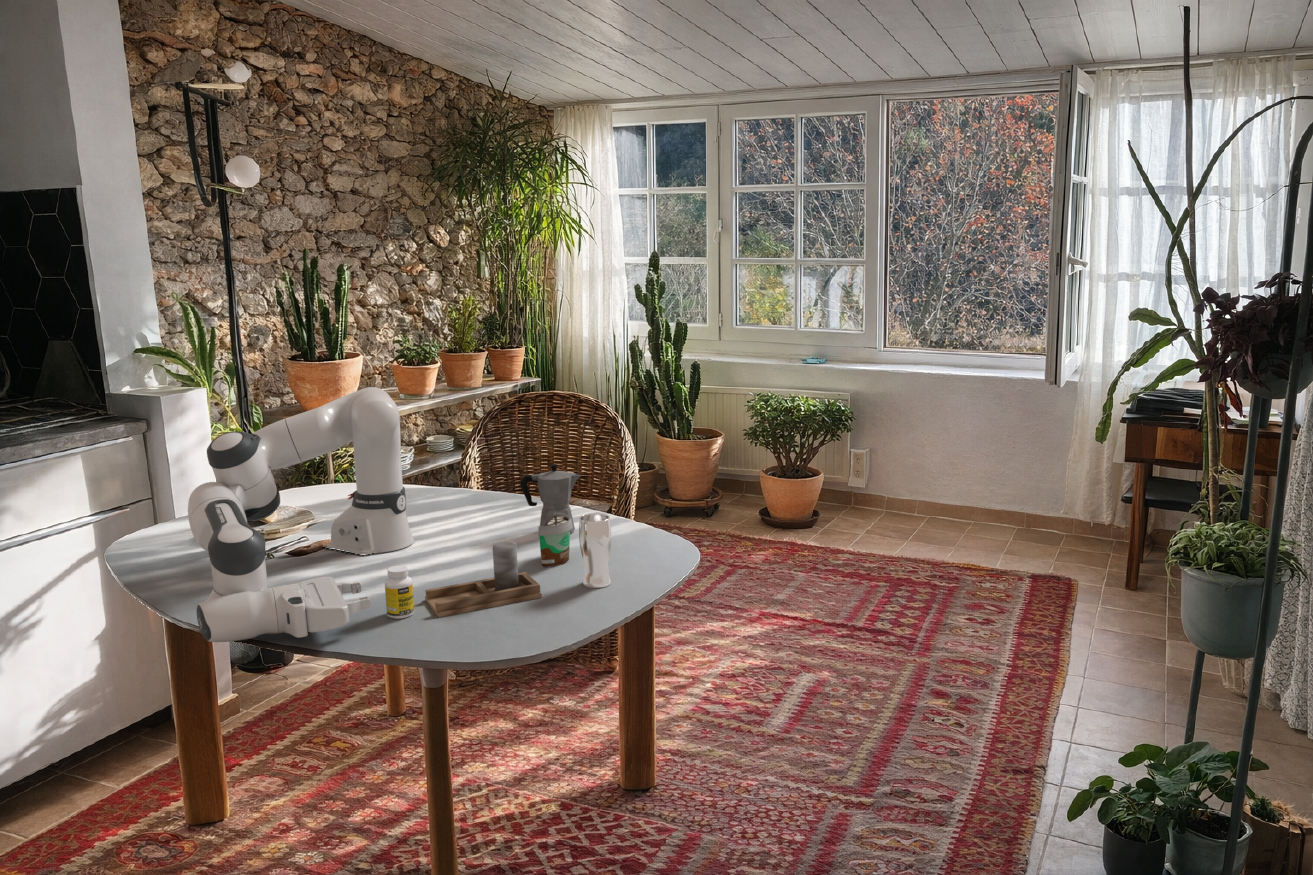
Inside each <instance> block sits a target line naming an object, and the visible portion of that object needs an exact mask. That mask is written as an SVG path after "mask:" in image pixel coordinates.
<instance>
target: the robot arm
mask: <svg viewBox="0 0 1313 875" xmlns="http://www.w3.org/2000/svg"><path fill="white" fill-rule="evenodd" d="M400 417H401V416H400V409H399V408H398V405H397V404H396V402H395V401H394V400H393V398H392V397H391V396H390V394H388V392H386V390H383V389H382V388H379V387H376V386H375V387H373V386H369V387H364V388H361V389H359V390H356V391H353V392H352V393H349V394H346V395H343V396H341V397H339V398H336V399H334V400H332V401H330V402H328V403H325V404H324V405H321V406H319V407H315V408H313V409H309V410H307V411H304V412H301V413H298V414H294V415H291V416H289V417H287V418H283V419H279V420H277V421H275V422H273V423H270V424H268V425H266V426H263V427H262V428H260V429H258V430H256V431H254V432H253V433H249V432H247V431H239V430H237V431H236V430H235V431H234V430H233V431H229V432H225V433H222V434H220V435H217V437H215V438H214V439H212V441H211V442H210V443H209V445H208V447H207V448H206V457H207V461H208V464H209V466H210V467H211V468H212V471H213V475H214V477H215V479H216V481H209V482H205V483H204V482H203V483H202V484H200V485H198V486H197V487H195V488H194V489H193V490H192V491H191V493H190V495H189V498H188V501H187V502H188V503H187V504H188V505H187V517H188V523H189V527H190V528H189V529H190V530H191V533H192V536H193V537H194V540H195V541H196V543H197V544H198V545H199V546H200V548H201V549H202V550H204V551H206V552H207V553H208V557H209V561H210V568H211V577H212V585H213V589H211V593H210V595H209V596H208V598H207V599H206V600H204V601H201V602H199V603H198V604H197V606H196V620H197V624H198V627H199V630H200V631H199V632H200V634H201V636H202V637H203V639H204V640H206V642H208V643H209V642H210V643H229V642H236V641H237V642H238V641H243V640H249V639H254V638H256V637H259V636H261V635H265V634H274V635H276V634H283V633H285V634H290V635H291V636H293V637H295V638H304V637H307V636H308V634H309V633H320V632H324V631H330V630H332V629H337V628H341V627H344V626H346V625H347V624H349V623H350V615H353V614H355V613H357V612H359V611H361V610H364V609H369V608H371V599H369V597H367V596H365V597H359V599H357V600H354V601H351V600H350V601H345V598H344V597H343V594H349V593H351V594H359V593H361V592H362V585H361V583H360V582H358V581H357V582H356V581H355V582H341V581H340V582H337V583H336V581H335V579H334V578H333V576H321V577H316V578H311V579H306V580H302V581H299V582H296V583H289V584H283V585H278V586H272V587H268V576H267V566H266V565H267V563H266V562H267V561H266V539H265V537H264V536H263V534H261V533H260V532H259V531H258V530H256V529H255V528H253V527H252V526H251V525H249V524H248V522H256V521H261V520H264V519H266V518H268V517H270V516H271V515H273V514H274V513H275V512H276V511H277V509H278V508H279V506H280V505H281V495H280V490H279V488H278V487H277V485H276V481H275V479H274V476H273V473H272V471H273V470H278V469H282V468H286V467H291V466H295V465H298V464H300V463H303V462H307V461H309V460H311V459H314V458H318V457H320V456H323V455H326V454H329V453H332V452H334V451H337V450H338V449H340V448H341V447H343V446H345V445H347V444H349V443H351V442H352V443H353V444H352V445H353V461H354V472H355V475H354V476H355V485H356V490H355V491H353V492H352V493H350V494H348V495H347V497H348V498H347V500H351V499H352V502H351V505H350V506H349V507H348V508H347V509H345V510H344V511H343V512H342V513H340V515H338V516H337V517H336V518H335V519H334V520H333V522H332V523H331V530H330V537H331V544H330V545H327V548H335V549H340V550H344V551H349V552H353V553H357V554H370V555H373V554H372V553H374V554H378V553H380V554H381V553H388V552H389V553H390V552H392V551H397V550H401V549H404V548H407V547H409V546H411V545H412V544H414V541H415V539H414V536H413V535H412V530H411V529H410V524H409V520H408V516H407V510H406V509H407V498H406V495H407V494H406V488H405V486H404V485H403V484H404V483H403V482H404V481H403V470H402V456H401V455H402V453H401V449H402V448H401V447H402V446H401V439H402V438H401V418H400ZM357 554H356V555H357ZM308 632H309V633H308Z"/></svg>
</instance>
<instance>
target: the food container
mask: <svg viewBox="0 0 1313 875" xmlns="http://www.w3.org/2000/svg"><path fill="white" fill-rule="evenodd" d="M572 528H573V525H572V521H571V519H570V517H569V516H568V515H566V514H562V513H553V518H552V519H551V520H548V521H547V522H546V523H545V525H544V526H540V525H539V526H538V529H537V531H538V532H537V536H538V539H539V549H540V551H539V552H540V561H541V562H540V563H541V567H542V566H544V567H545V568H546V567H547V568H549V567H548V566H550V567H557V566H561V565H564V564H566V563H568V562H569V561H570V544H571V542H570V538H571V537H570V536H571V534H570V530H571V529H572ZM568 560H569V561H568ZM567 561H568V562H567ZM544 567H543V568H544Z"/></svg>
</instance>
